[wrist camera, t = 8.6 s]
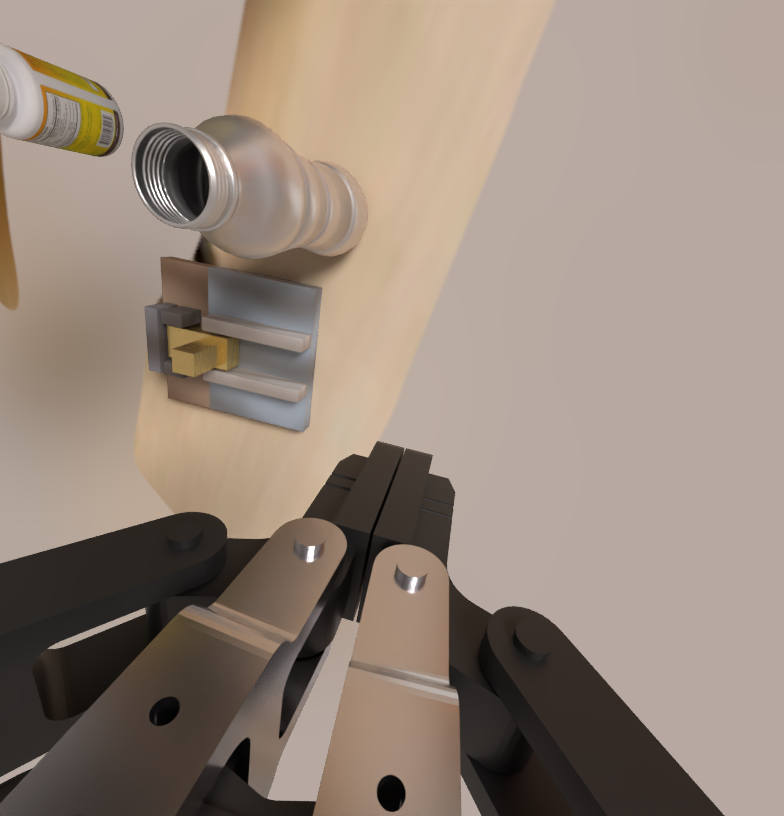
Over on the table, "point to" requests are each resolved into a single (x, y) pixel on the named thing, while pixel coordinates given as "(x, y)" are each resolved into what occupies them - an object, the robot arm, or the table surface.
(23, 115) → the supplement bottle
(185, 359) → the bolt
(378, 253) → the table surface
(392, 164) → the table surface
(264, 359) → the lock board
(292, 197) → the silver threaded hollow container
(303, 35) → the table surface
